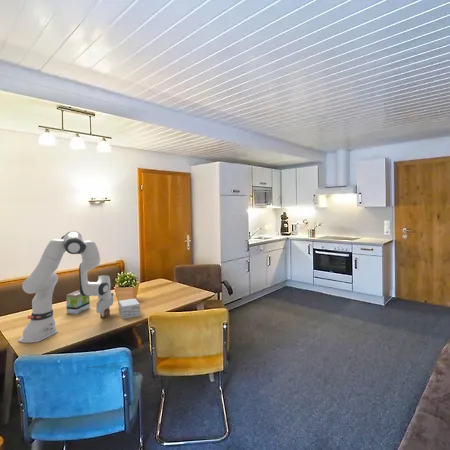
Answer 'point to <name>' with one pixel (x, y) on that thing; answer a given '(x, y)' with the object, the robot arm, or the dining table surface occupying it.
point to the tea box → (77, 302)
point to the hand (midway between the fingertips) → (105, 314)
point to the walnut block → (107, 313)
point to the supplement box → (129, 308)
